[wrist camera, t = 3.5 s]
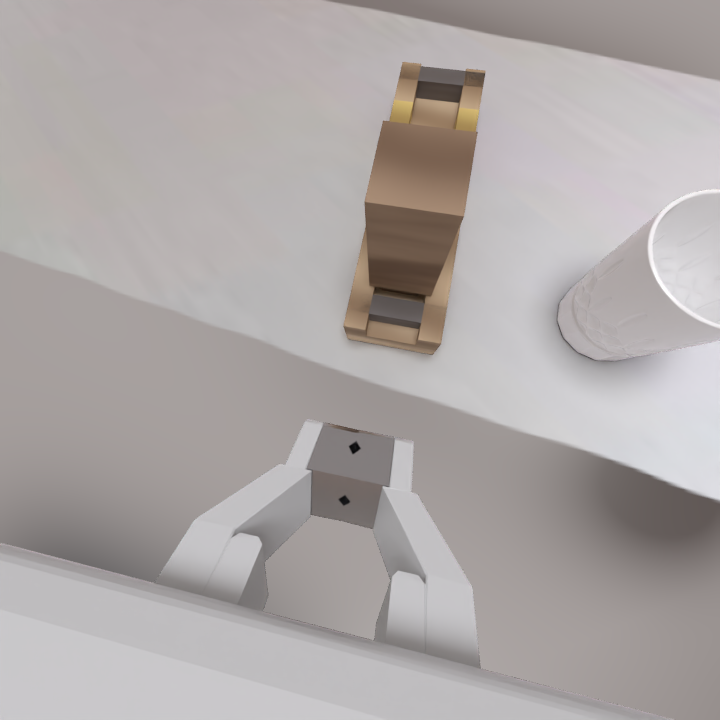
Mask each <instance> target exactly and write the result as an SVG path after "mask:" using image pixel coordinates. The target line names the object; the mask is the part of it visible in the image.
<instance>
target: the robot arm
mask: <svg viewBox="0 0 720 720" xmlns="http://www.w3.org/2000/svg"><path fill="white" fill-rule="evenodd" d="M413 451H414V442H413V440H408V439H403V438H398V437H395V438H394V437H393V436H388V435H383V434H377V433H372V432H367V431H362V430H355V429H351V428H347V427H342V426H338V425H334V424H330V423H324V422H319V421H315V420H310V419H307V420H306V421H305V422H304V424H303V426H302V428H301V431H300V433H299V435H298V437H297V439H296V442H295V444H294V446H293V448H292V450H291V453H290V454H289V457H288V459H287V461H286V463H285V465H284V464H278V465H277V466H275V467H274V468H272V469H271V470H269V471H268V472H266V473H264V474H263V475H262V476H260V477H258V478H257V479H255V480H254V481H252V482H251V483H249V484H248V485H246V486H245V487H243V488H242V489H240V490H239V491H237V492H236V493H234V494H233V495H231V496H230V497H228V498H227V499H225V500H223V501H222V502H220V503H219V504H217V505H216V506H215V507H213V508H211V509H210V510H209V511H207V512H205V513H204V514H202V515H201V516H199V517H198V518H196V519H195V520H194V521H193V523H192V525H191V526H190V528H189V530H188V531H187V532H186V534H185V536H184V537H183V539H182V540H181V542H180V543H179V546H178V547H177V548H176V550H175V551H174V553H173V554H172V556H171V557H170V559H169V561H168V562H167V564H166V565H165V567H164V568H163V570H162V572H161V573H160V575H159V576H158V578H157V579H156V581H155V582H154V583H152V582H148V581H144V580H141V579H137V578H133V577H129V576H126V575H122V574H118V573H114V572H110V571H106V570H103V569H99V568H95V567H91V566H87V565H84V564H79V563H76V562H72V561H68V560H64V559H60V558H57V557H53V556H49V555H45V554H42V553H37V552H34V551H30V550H26V549H22V548H19V547H15V546H11V545H7V544H3V543H0V720H675V719H671V718H667V717H663V716H660V715H656V714H652V713H648V712H644V711H640V710H637V709H632V708H628V707H625V706H621V705H618V704H614V703H610V702H606V701H602V700H599V699H595V698H591V697H587V696H583V695H579V694H576V693H571V692H568V691H564V690H560V689H556V688H553V687H549V686H545V685H541V684H538V683H533V682H529V681H526V680H522V679H518V678H515V677H510V676H507V675H503V674H499V673H495V672H492V671H488V670H484V669H481V668H480V658H479V648H478V638H477V628H476V618H475V608H474V597H473V587H472V585H471V584H470V582H469V580H468V579H467V577H466V576H465V574H464V572H463V570H462V569H461V567H460V565H459V563H458V562H457V560H456V558H455V557H454V555H453V553H452V552H451V550H450V548H449V546H448V545H447V543H446V541H445V540H444V538H443V537H442V535H441V533H440V531H439V530H438V528H437V526H436V525H435V523H434V521H433V520H432V518H431V516H430V514H429V513H428V511H427V509H426V508H425V506H424V504H423V502H422V501H421V499H420V498H419V496H418V494H416V493H412V473H413ZM310 515H315V516H319V517H324V518H330V519H335V520H339V521H344V522H348V523H351V524H355V525H359V526H363V527H367V528H371V529H373V533H374V535H375V538H376V541H377V544H378V547H379V550H380V552H381V555H382V558H383V561H384V563H385V566H386V569H387V572H388V575H389V577H390V580H391V581H390V584H389V587H388V590H387V593H386V596H385V599H384V602H383V605H382V608H381V611H380V613H379V616H378V619H377V622H376V630H375V638H374V640H370V639H366V638H362V637H358V636H355V635H351V634H347V633H343V632H339V631H335V630H332V629H328V628H324V627H320V626H316V625H313V624H309V623H305V622H301V621H297V620H293V619H290V618H285V617H282V616H278V615H274V614H271V613H267V612H263V609H264V606H265V604H266V601H267V598H268V588H267V580H266V571H265V564H264V562H265V561H266V560H267V559H268V558H269V557H270V556H271V555H272V554H273V553H274V552H275V551H276V550H277V549H278V548H279V547H280V546H281V545H282V544H283V543H284V542H285V541H286V540H287V539H288V538H289V537H290V536H291V535H292V534H293V533H294V532H295V531H296V530H297V529H298V528H299V527H300V526H301V525H302V524H303V523H305V521H307V520H308V519H309V518H310Z"/></svg>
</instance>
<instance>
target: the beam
mask: <svg viewBox="0 0 720 720" xmlns="http://www.w3.org/2000/svg"><path fill="white" fill-rule="evenodd" d="M484 77H485V71H483V70H473V69H466V71H460V70H451V69H441V68H432V67H423V66H421V64H417V63H407V62H403V63H402V67H401V72H400V76H399V81H398V85H397V90H396V94H395V99H394V103H393V108H392V112H391V116H390V121H391V122H399V123H407V124H415V125H423V126H431V127H439V128H447V129H456V130H464V131H472V132H476V126H477V120H478V114H479V108H480V102H481V95H482V89H483V83H484ZM459 230H460V227H459V229H458V232H457V234H456V237H455V239H454V242H453V244H452V247H451V249H450V251H449V254H448V256H447V259H446V261H445V264H444V266H443V269H442V271H441V273H440V276H439V278H438V281H437V283H436V286H435V288H434V291H433V293H432V296H428V295H422V294H419V295H418V296H413V295H407V294H401V293H395V292H389V291H383V290H382V288H381V287H375V286H369V271H368V253H367V235H366V228H365V232H364V237H363V241H362V246H361V250H360V255H359V259H358V263H357V268H356V272H355V277H354V281H353V286H352V290H351V295H350V299H349V304H348V308H347V312H346V317H345V321H344V329H345V332H346V335H347V338H348V339H351V340H357V341H362V342H367V343H373V344H378V345H384V346H389V347H394V348H400V349H405V350H410V351H416V352H421V353H426V354H432V355H433V354H434V352H435V351H436V350H437V348H438V347H439V346H440V344H441V340H442V334H443V328H444V322H445V316H446V310H447V304H448V298H449V291H450V285H451V279H452V273H453V267H454V261H455V255H456V249H457V242H458V236H459Z"/></svg>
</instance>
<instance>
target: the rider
mask: <svg viewBox="0 0 720 720" xmlns="http://www.w3.org/2000/svg"><path fill="white" fill-rule="evenodd" d="M476 138H477V132H472V131H464V130H456V129H447V128H439V127H431V126H423V125H415V124H407V123H399V122H391V121H383V124H382V128H381V132H380V137H379V141H378V145H377V150H376V154H375V159H374V163H373V167H372V172H371V176H370V180H369V185H368V189H367V193H366V198H365V218H366V235H367V253H368V271H369V286H375V287H381V288H382V290H383V291H389V292H395V293H401V294H407V295H413V296H418V295H419V294H422V295H428V296H432V293H433V291H434V288H435V286H436V283H437V281H438V278H439V276H440V273H441V271H442V269H443V266H444V264H445V261H446V259H447V256H448V254H449V251H450V249H451V247H452V244H453V242H454V239H455V237H456V234H457V232H458V229H459V227H460V225H461V222H462V220H463V217H464V212H465V206H466V200H467V194H468V188H469V181H470V175H471V169H472V163H473V157H474V150H475V144H476Z"/></svg>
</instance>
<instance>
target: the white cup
mask: <svg viewBox="0 0 720 720" xmlns="http://www.w3.org/2000/svg"><path fill="white" fill-rule="evenodd" d="M557 321H558V324H559V327H560V329H561V332H562V335H563V338H564V339H565V340H566V341H567V342H568V343H569V344H570V345H571V346H572V347H573V348H574V349H575V350H576V351H577V352H578V353H581V354H583V355H585V356H587V357H590V358H592V359H594V360H604V361H618V360H622V359H627V358H631V357H637V356H645V355H652V354H656V353H661V352H666V351H673V350H678V349H683V348H688V347H692V346H697V345H702V344H706V343H711V342H716V341H720V189H709V190H701V191H696V192H693V193H689V194H687V195H684V196H682V197H680V198H678V199H676V200H674V201H673V202H671V203H670V204H669V205H667V206H666V207H665V208H664V209H663V210H661V211H660V212H659V213H658V214H657V215H655V216H654V217H653V218H652V219H651V220H649V221H648V222H647V223H646V224H645V225H643V226H642V227H641V228H640V229H639V230H637V231H636V232H635V233H634V234H633V235H631V236H630V237H629V238H628V239H627V240H625V241H624V242H623V243H622V244H621V245H619V246H618V247H617V248H616V249H615V250H613V251H612V252H611V253H610V254H609V255H607V256H606V257H605V258H604V259H603V260H602V261H601V262H600V263H599V264H597V265H596V266H595V267H594V268H593V269H592V270H590V271H589V272H588V273H587V274H586V275H585V276H584V277H583V278H582V279H581V280H580V281H579V282H578V283H576V284H575V285H574V286H573V287H572V288H570V290H569V291H568V292H567V294H566V295H565V296H564V297H563V299H562V300H561V301H560V304H559V311H558V317H557Z"/></svg>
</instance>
